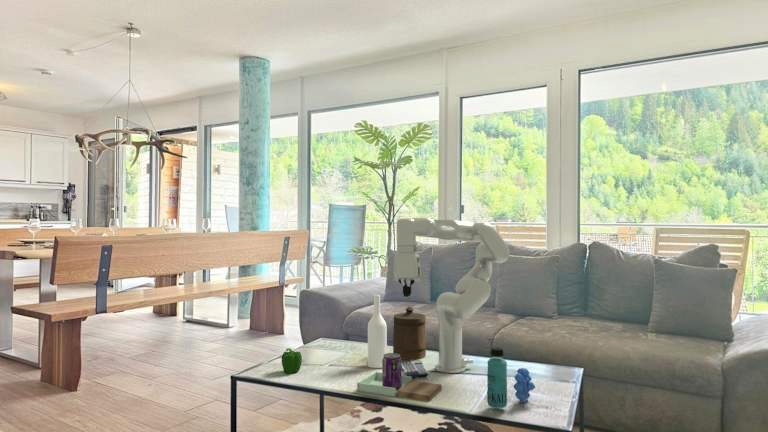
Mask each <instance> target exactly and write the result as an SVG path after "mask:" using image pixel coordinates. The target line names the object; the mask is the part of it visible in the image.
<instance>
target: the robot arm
mask: <svg viewBox="0 0 768 432" xmlns="http://www.w3.org/2000/svg"><path fill="white" fill-rule="evenodd" d="M417 237H420V238H421V237H423V238H424V237H425V238H433V239H440V240H445V241H455V242H457V241H458V242H466V243H478V244H477V247H476V248H475V263H474V266H473V267H472V268H471V269H470V270H469V271H468V272H467V273H466V274H465V275H463V277H462V278H461V279H459V280H458V282H457V284H456V285H455V292H452V291H451V292H450V291H446V292H443V293H440V294H439V296H438V297H437V299H436V312H437V317H438V363H436V364H435V366H434V368H435V370H436V371H438V372H441V373H445V374H457V373H462V372H465V371H466V370H467V367H466V365H467V364H468V365H471V364H472V365H473V364H474V358H468V357H467V358H464V357H463V326H462V325H463V324H462V321H461V320H466V319H469V318H470V317H472V316H473V315H474V314H475V313H476V312H477V311H478V310H479V309H480V308H481V307H482V306H483V305H484V304H485V303H486V302H487V300H488V299H489V297H490V296H491V291H492V287H491V284H490V283H489V281H490V279H491V278H492V274H493V263H496V264H502V263H505V262H506V261H508V259H509V257H510V253H511V252H510V248H509V246H508V243H506V241H505V240H504V239H503V238H502V236H501V235H500V233H499V232H498V230H497V229H496V228H495V227H494V226H493V225H492V224H490V223H488V222H475V221H467V220H457V219H433V218H430V217H412V218H399V219H397V220H396V252H395V255H394V261H393V276H394V277H393V281H395V282H399V283H400V285H401V287H402V294H403V297H405V298H406V297H410V296H411V294H412V286H413V284H415V283H418V282H421V278H420V277H421V276H422V275H421V274H422V273H421V272H422V271H421V261H420V257H419V256H420V255H419V253H418V252H417V251H420V246H417V242H416V240H417Z"/></svg>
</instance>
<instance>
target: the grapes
mask: <svg viewBox="0 0 768 432" xmlns="http://www.w3.org/2000/svg"><path fill="white" fill-rule="evenodd" d="M513 378H514V379H515V381H516V382H515V383H514V385H513V388H514V390H515V391H516V392H515V393H514V396H515V397H516V399H518V400H519V401H520V402H521V403H525V402H526V401H527V400H528V399H529V398H530V397H531V394H530V391H533V390H534V389H535V388H536V386H535V383H533V381H532V376H531V375H530V371H529V369H527V368H526V367H519V368H518V369H517V371H516V374H515V375H514V377H513Z"/></svg>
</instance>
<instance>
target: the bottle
mask: <svg viewBox="0 0 768 432" xmlns="http://www.w3.org/2000/svg"><path fill="white" fill-rule="evenodd" d="M387 325H388V324H387V323H386V320H385V319H384V317H383V315H382V314H381V295H380V294H373V314H372V316H371V318H370V320H369V321H368V323H367V366H368V367H369V368H371V369H382V360H383V357H384V354H387V352H388V351H387V350H388V346H387V345H388V342H387V340H388V339H387V338H388V334H387V333H388V332H387V331H388V330H387V329H388V328H387V327H388V326H387Z"/></svg>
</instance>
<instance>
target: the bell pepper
mask: <svg viewBox="0 0 768 432" xmlns="http://www.w3.org/2000/svg"><path fill="white" fill-rule="evenodd" d="M302 362H303V356H302V353H301V351H295V350H293V349H292V348H290V347H288V348H285V351H284V352H283V353H282V355H281V365H282V369H283V371H284V373H285V374H293V373H299V371H300V369H301V367H302Z"/></svg>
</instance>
